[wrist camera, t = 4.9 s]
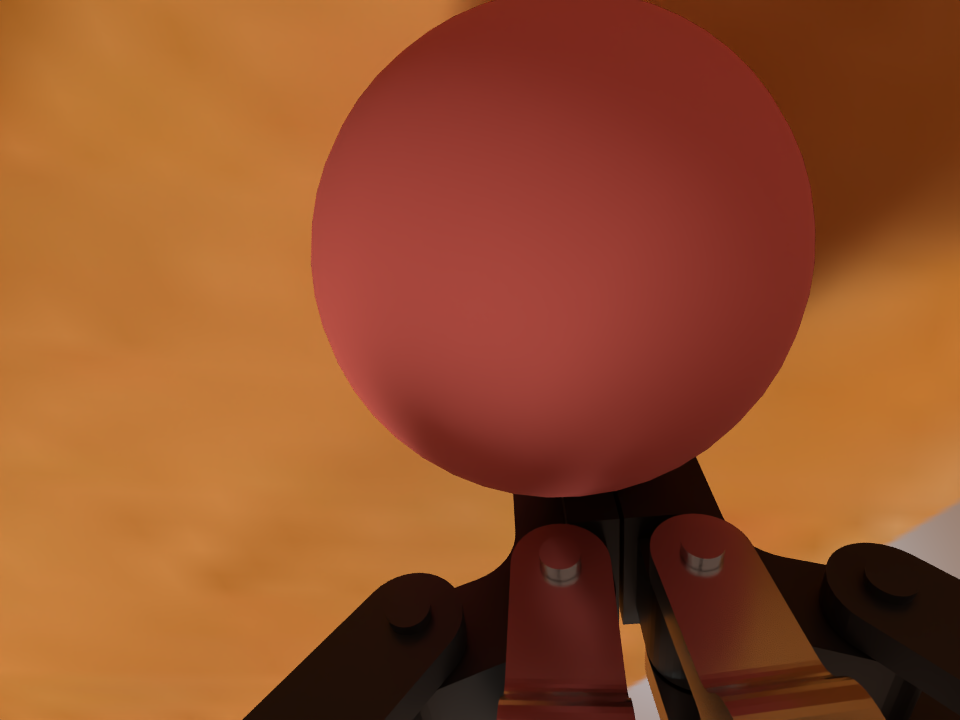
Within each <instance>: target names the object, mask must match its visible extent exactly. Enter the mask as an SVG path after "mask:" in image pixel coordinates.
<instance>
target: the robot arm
mask: <svg viewBox="0 0 960 720" xmlns="http://www.w3.org/2000/svg"><path fill="white" fill-rule="evenodd" d="M513 497H514V515H515V532H516V533H515V542H514V546H513V548H512V551H511V553H510V554H509V556H508V557H507V559H506V560H505V561H504V562H503V563H502V564H501V565H500V566H499V567H498V568H497V569H496V570H494V571H493V572H491V573H490V574H488V575H486V576H484V577H482V578H480V579H477V580H475V581H472V582H469V583H467V584H464V585H461V586H459V587H456V588H454V587H453V586H452V585H451V584H450V583H449V582H447V581H446V580H445V579H443V578H440V577H438V576H435V575H432V574H426V573H412V574H406V575H403V576H399V577H396V578H394V579H392V580H390V581H388V582H386V583H385V584H383V585H382V586H380V587H379V588H378V589H377V590H376V591H375V592H373V593H372V594H371V595H370V596H369V597H368V598H367V599H366V600H365V601H364V602H363V603H362V604H361V605H360V606H359V607H358V608H357V609H356V610H355V611H354V612H353V613H352V614H351V615H350V616H349V617H348V618H347V619H346V620H345V621H344V622H343V623H342V624H341V625H339V626H338V627H337V628H336V629H335V630H334V631H333V632H332V633H331V634H330V635H329V636H328V637H327V638H326V639H325V640H324V641H323V642H322V643H321V644H320V645H319V646H318V647H317V648H316V649H315V650H314V651H313V652H312V653H311V654H310V655H309V656H308V657H307V658H305V659H304V660H303V661H302V662H301V663H300V664H299V665H298V666H297V667H296V668H295V669H294V670H293V671H292V672H291V673H290V674H289V675H288V676H287V677H286V678H285V679H284V680H283V681H282V682H281V683H280V684H279V685H278V686H277V687H276V688H275V689H274V690H273V691H271V692H270V693H269V694H268V695H267V696H266V697H265V698H264V699H263V700H262V701H261V702H260V703H259V704H258V705H257V706H256V707H255V708H254V709H253V710H252V711H251V712H250V713H249V714H248V715H247V716H246V717H245V718H244V719H243V720H635V715H634V709H633V704H632V700H631V698H629V697H628V692H627V685H626V678H625V670H624V662H623V654H622V646H621V638H620V630H619V608H620V612H621V617H622V621H623V624H638V623H640V625H641V629H642V633H643V638H644V642H645V671H646V675H647V678H648V682H649V685H650V688H651V691H652V694H653V697H654V701H655V703H656V707H657V710H658V713H659V716H660V720H960V579H958V578H956V577H954V576H952V575H950V574H948V573H946V572H944V571H942V570H940V569H938V568H936V567H935V566H933V565H931V564H929V563H927V562H925V561H923V560H921V559H919V558H917V557H915V556H913V555H911V554H909V553H907V552H905V551H902V550H900V549H897V548H894V547H890V546H886V545H882V544H875V543H856V544H850V545H847V546H844V547H842V548H840V549H838V550H836V551H835V552H834V553H833V554H832V555H831V556H830V558H829V559H828V562H827V565H824V564H818V563H813V562H808V561H802V560H797V559H791V558H786V557H781V556H777V555H773V554H770V553H768V552H765V551H762V550H760V549H758V548H756V547H754V546H753V545H752V543H751V542H750V540H749V539H748V538H747V537H746V536H745V534H744V533H743V532H742V531H740V530H739V529H738V528H736V527H735V526H733V525H732V524H730V523H728V522H726V521H725V520H724V518H723V516H722V514H721V512H720V510H719V507H718V505H717V503H716V501H715V499H714V496H713V494H712V492H711V490H710V487H709V485H708V483H707V481H706V478H705V476H704V474H703V472H702V470H701V467H700V465H699V463H698V461H697V458H696V457H694V458H693V459H691V460H690V461H688V462H686V463H685V464H683V465H682V466H680V467H678V468H676V469H674V470H672V471H669V472H667V473H665V474H663V475H661V476H659V477H656V478H654V479H652V480H650V481H647V482H644V483H640V484H637V485H634V486H630V487H627V488H624V489H621V490H617V491H612V492H606V493H599V494H593V495H587V496H580V497H539V496H529V495H520V494H513Z"/></svg>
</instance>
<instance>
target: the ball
mask: <svg viewBox="0 0 960 720" xmlns="http://www.w3.org/2000/svg"><path fill="white" fill-rule="evenodd" d="M814 264H815V219H814V210H813V202H812V194H811V186H810V183H809V179H808V175H807V172H806V168H805V164H804V160H803V157H802V154H801V152H800V150H799V147H798V145H797V143H796V140H795V138H794V135H793V133H792V131H791V128H790V127H789V125H788V123H787V122H786V120H785V118H784V116H783V115H782V113H781V111H780V110H779V108H778V106H777V105H776V103H775V101H774V100H773V98H772V96H771V94H770V93H769V92H768V90H767V89H766V88H765V86H764V85H763V84H762V83H761V81H760V80H759V79H758V78H757V76H756V75H755V74H754V72H753V71H752V70H751V69H750V68H749V67H748V66H747V65H746V64H745V63H744V62H743V61H742V60H741V59H740V58H739V57H738V56H737V55H736V54H735V53H734V52H733V51H732V50H731V49H730V48H728V47H727V46H726V45H724V44H723V43H722V42H720V41H719V40H718V39H716V38H715V37H714V36H713V35H711V34H710V33H709V32H707V31H706V30H704V29H702V28H701V27H699V26H697V25H695V24H694V23H692V22H690V21H689V20H687V19H685V18H683V17H682V16H680V15H677V14H675V13H673V12H670V11H668V10H666V9H663V8H661V7H659V6H656V5H654V4H651V3H648V2H644V1H641V0H495V1H492V2H488V3H485V4H482V5H479V6H477V7H474V8H472V9H470V10H468V11H465V12H463V13H461V14H458V15H456V16H454V17H452V18H450V19H449V20H447V21H445V22H444V23H442V24H440V25H438V26H437V27H435V28H433V29H432V30H430V31H428V32H427V33H426V34H424V35H423V36H422V37H420V38H419V39H418V40H417V41H415V42H414V43H413V44H411V45H410V46H409V47H407V48H406V49H405V50H404V51H402V52H401V53H400V54H399V55H398V56H397V57H396V58H395V59H394V60H393V61H392V62H391V63H390V64H389V65H388V66H387V67H385V68H384V69H383V70H382V71H381V72H380V73H379V74H378V75H377V76H376V78H375V79H374V80H373V81H372V83H371V84H370V85H369V86H368V88H367V89H366V90H365V91H364V93H363V94H362V95H361V96H360V98H359V99H358V100H357V102H356V104H355V105H354V107H353V109H352V110H351V112H350V113H349V115H348V117H347V118H346V120H345V122H344V123H343V125H342V127H341V129H340V132H339V134H338V136H337V138H336V140H335V143H334V145H333V147H332V150H331V152H330V154H329V156H328V159H327V161H326V163H325V166H324V170H323V173H322V177H321V180H320V183H319V187H318V190H317V195H316V201H315V208H314V214H313V221H312V249H311V267H312V276H313V284H314V292H315V298H316V302H317V306H318V310H319V313H320V317H321V321H322V325H323V328H324V330H325V333H326V335H327V338H328V340H329V342H330V345H331V347H332V350H333V352H334V355H335V357H336V359H337V362H338V364H339V366H340V367H341V369H342V371H343V373H344V374H345V376H346V378H347V379H348V381H349V383H350V385H351V386H352V388H353V390H354V391H355V392H356V394H357V395H358V396H359V398H360V399H361V400H362V401H363V403H364V404H365V405H366V407H367V408H368V409H369V410H370V412H371V413H372V414H373V416H375V417H376V418H377V419H378V420H379V421H380V422H381V423H382V424H383V425H384V426H385V427H386V428H387V429H388V430H389V431H390V432H391V433H392V434H393V435H394V436H395V437H396V438H397V439H399V440H400V441H401V442H403V443H404V444H405V445H407V446H408V447H409V448H411V449H412V450H413V451H415V452H416V453H417V454H419V455H420V456H421V457H423V458H425V459H426V460H428V461H430V462H432V463H433V464H435V465H437V466H439V467H441V468H443V469H444V470H446V471H448V472H450V473H452V474H453V475H456V476H458V477H461V478H463V479H466V480H469V481H471V482H474V483H476V484H479V485H481V486H484V487H488V488H492V489H497V490H501V491H505V492H509V493H513V494H520V495H529V496H539V497H580V496H587V495H593V494H599V493H606V492H612V491H617V490H621V489H624V488H627V487H630V486H634V485H637V484H640V483H644V482H647V481H650V480H652V479H654V478H656V477H659V476H661V475H663V474H665V473H667V472H669V471H672V470H674V469H676V468H678V467H680V466H682V465H683V464H685V463H686V462H688V461H690V460H691V459H693V458H694V457H696V456H697V455H699V454H701V453H702V452H704V451H705V450H707V449H708V448H709V447H711V446H712V445H713V444H714V443H715V442H717V441H718V440H719V439H720V438H721V437H722V436H724V435H725V434H726V433H727V432H728V431H729V430H731V429H732V428H733V427H734V426H735V425H736V424H737V423H738V422H739V421H740V420H741V419H742V418H743V417H744V416H745V415H746V413H747V412H748V411H749V410H750V409H751V408H752V407H753V406H754V404H755V403H756V402H757V401H758V400H759V399H760V398H761V397H762V395H763V394H764V393H765V391H766V390H767V388H768V387H769V385H770V384H771V382H772V380H773V379H774V377H775V376H776V374H777V373H778V371H779V370H780V368H781V367H782V365H783V363H784V360H785V358H786V356H787V354H788V352H789V350H790V348H791V346H792V344H793V342H794V339H795V337H796V335H797V332H798V329H799V327H800V324H801V320H802V317H803V314H804V311H805V307H806V304H807V301H808V298H809V295H810V288H811V282H812V276H813V270H814Z"/></svg>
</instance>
